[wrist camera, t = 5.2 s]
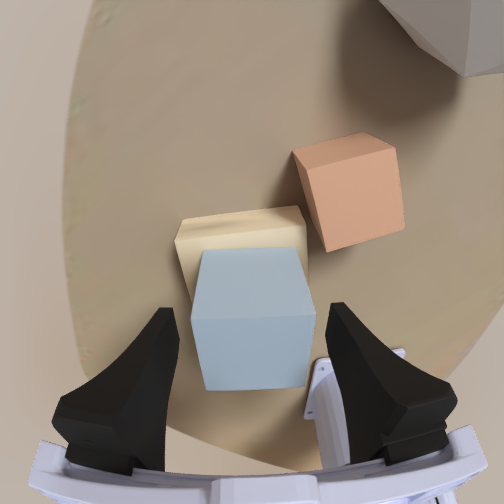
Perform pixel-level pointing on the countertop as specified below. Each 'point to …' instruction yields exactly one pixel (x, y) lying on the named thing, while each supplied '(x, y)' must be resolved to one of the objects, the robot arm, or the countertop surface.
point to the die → (456, 32)
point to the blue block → (252, 319)
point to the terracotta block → (351, 189)
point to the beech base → (239, 236)
